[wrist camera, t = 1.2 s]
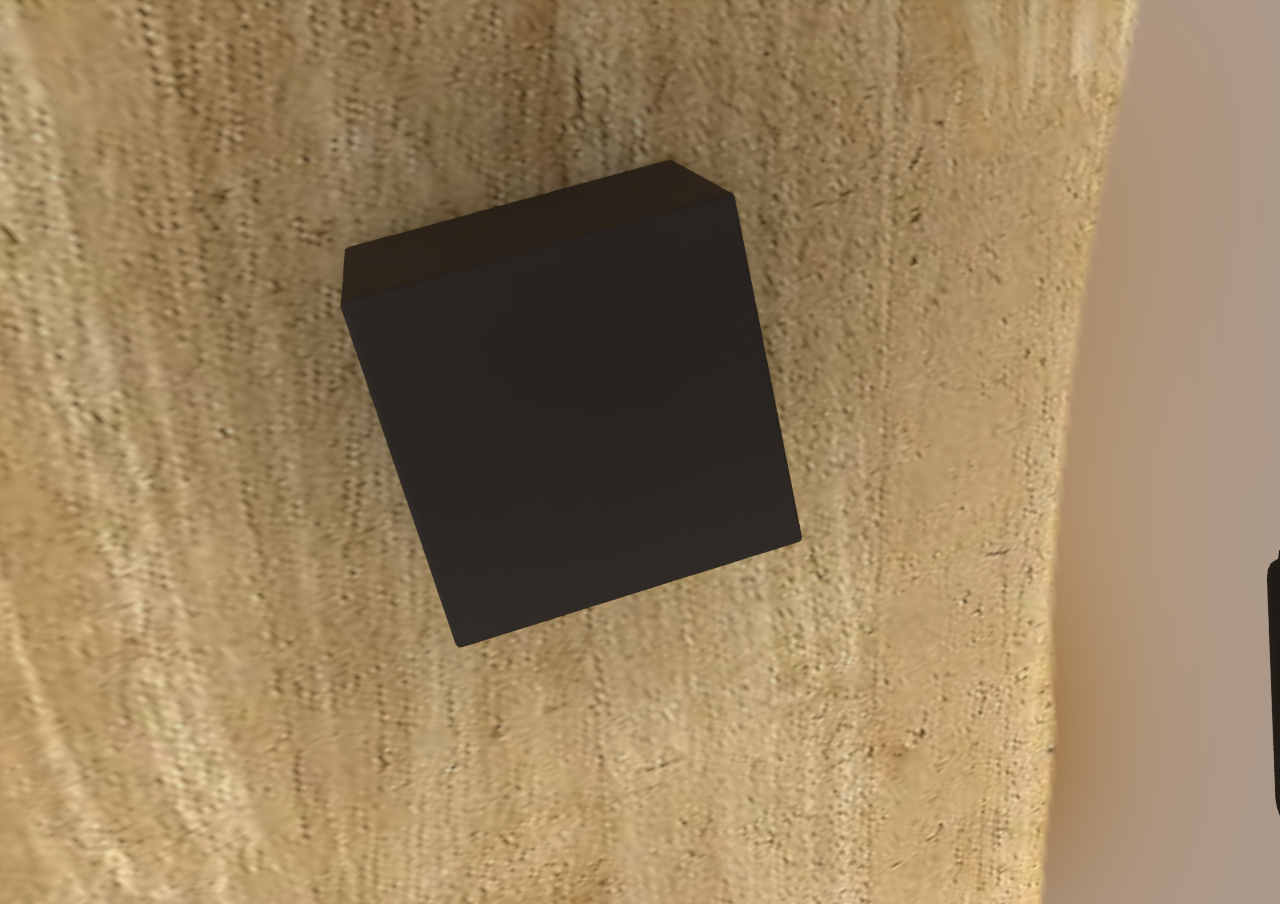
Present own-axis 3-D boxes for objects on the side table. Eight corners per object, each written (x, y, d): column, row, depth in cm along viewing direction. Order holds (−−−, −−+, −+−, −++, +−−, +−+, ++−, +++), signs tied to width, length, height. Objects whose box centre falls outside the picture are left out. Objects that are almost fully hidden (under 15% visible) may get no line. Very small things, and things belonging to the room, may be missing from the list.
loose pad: (342, 248, 21) (339, 302, 17) (672, 158, 22) (735, 192, 18) (443, 547, 23) (457, 650, 20) (737, 458, 24) (804, 542, 20)
